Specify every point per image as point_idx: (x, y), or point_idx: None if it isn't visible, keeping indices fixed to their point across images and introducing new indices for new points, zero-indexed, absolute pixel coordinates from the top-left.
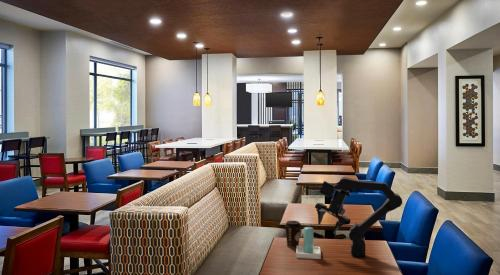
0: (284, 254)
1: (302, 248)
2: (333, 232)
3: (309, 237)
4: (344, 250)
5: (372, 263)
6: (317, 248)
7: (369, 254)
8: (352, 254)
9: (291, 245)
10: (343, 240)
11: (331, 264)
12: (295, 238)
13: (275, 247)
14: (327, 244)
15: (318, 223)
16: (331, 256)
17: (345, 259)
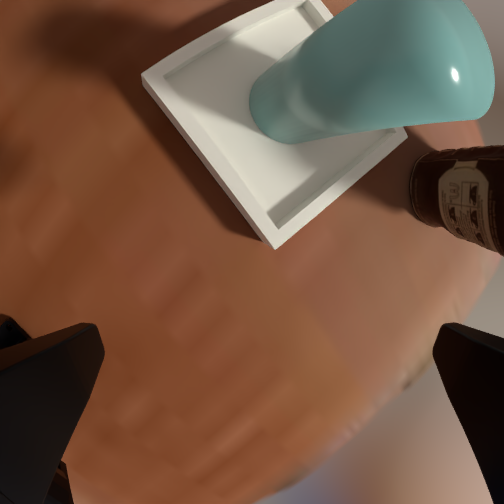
0: None
1: (363, 145)
2: (76, 327)
3: (329, 20)
4: (141, 389)
5: None
6: (279, 222)
7: None
8: (24, 340)
9: (434, 154)
10: (266, 484)
11: (26, 63)
12: (458, 165)
13: None
14: (299, 388)
15: (462, 326)
16: (112, 203)
17: (7, 234)
